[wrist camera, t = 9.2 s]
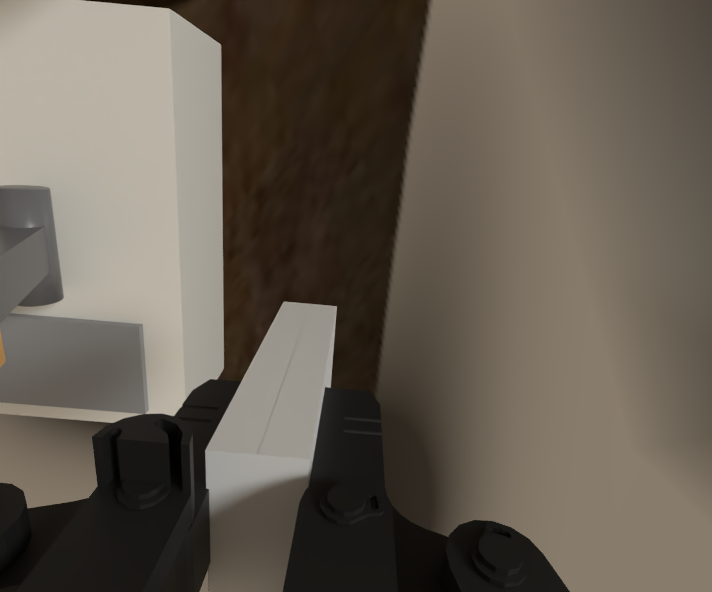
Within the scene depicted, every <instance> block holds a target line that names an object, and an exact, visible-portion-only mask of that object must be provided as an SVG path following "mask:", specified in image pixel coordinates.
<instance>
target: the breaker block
mask: <svg viewBox="0 0 712 592" xmlns="http://www.w3.org/2000/svg"><path fill="white" fill-rule="evenodd" d="M3 185H31V186H43V187H48V188H50V192H51V200H52V208H53V216H54V224H55V231H56V239H57V247H58V255H59V262H60V270H61V278H62V286H63V293H64V298H63V299H62V300H61V301H59V302H56V303H53V304H49V305H44V306H35V307H23V306H16V307H15V308H14V309H13V310H12V311H11V312H10V313H9V314H8V316H7V317H6V318H5V319H4V320H3V321H2V322H1V323H0V332H1V337H2V343H3V348H4V354H5V360H6V361H5V363H4V364H3V365H2V366H1V368H0V414H11V415H23V416H36V417H48V418H60V419H72V420H85V421H97V422H110V423H114V422H117V421H119V420H121V419H123V418H128V417H132V416H137V415H141V414H166V415H171V416H174V415H175V414H176V413H177V411H178V410H179V408H180V407H181V408H182V404H183V403H184V401H185V400H186V399H187V397H188V396H189V394H190V393H191V392H192V390H194V389H195V388H197V387H198V386H200V385H202V384H203V383H205V382H207V381H208V380H210V379H215V380H217V379H218V377H219V375H220V374H221V372H222V371H223V369H224V323H223V212H222V100H221V44H219V43H218V42H216V41H215V40H214V39H212V38H211V37H209V36H208V35H206V34H205V33H204V32H202V31H201V30H199V29H198V28H196V27H195V26H194V25H192V24H191V23H189V22H188V21H187V20H185V19H184V18H182V17H181V16H179V15H178V14H177V13H175V12H174V11H172V10H171V9H169V8H158V7H147V6H137V5H126V4H116V3H105V2H95V1H84V0H0V186H3Z"/></svg>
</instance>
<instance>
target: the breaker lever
mask: <svg viewBox="0 0 712 592" xmlns="http://www.w3.org/2000/svg"><path fill="white" fill-rule="evenodd" d="M63 298H64V293H63V286H62V278H61V270H60V262H59V255H58V247H57V239H56V231H55V224H54V216H53V208H52V200H51V192H50V188H48V187H43V186H31V185H3V186H0V323H1V322H2V321H3V320H4V319H5V318H6V317H7V316H8V314H9V313H10V312H11V311H12V310H13V309H14V308H15V307H16V306H23V307H35V306H44V305H49V304H53V303H56V302H59V301H61V300H62V299H63ZM5 361H6V360H5V354H4V348H3V343H2V337H1V332H0V368H1V366H2V365H3V364H4V363H5Z"/></svg>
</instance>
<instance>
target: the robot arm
mask: <svg viewBox="0 0 712 592" xmlns="http://www.w3.org/2000/svg"><path fill="white" fill-rule="evenodd" d="M336 309H337V306H327V305H316V304H304V303H293V302H283V304H282V306H281V308H280V310H279V312H278V314H277V315H276V317H275V319H274V321H273V323H272V325H271V327H270V329H269V331H268V332H267V334H266V336H265V338H264V340H263V342H262V344H261V346H260V348H259V349H258V351H257V353H256V355H255V357H254V359H253V361H252V363H251V365H250V367H249V368H248V370H247V372H246V374H245V376H244V378H243V380H242V382H239V381H227V380H215V379H210V380H208V381H207V382H205V383H203V384H202V385H200V386H198V387H197V388H195V389H194V390H192V392H191V393H190V394H189V396H188V397H187V399H186V400H185V401H184V403H183V404H182V408H181V407H180V408H179V410H178V411H177V413H176V414H175V415H174V416H171V415H166V414H141V415H137V416H132V417H128V418H123V419H121V420H119V421H117V422H114V423H112V424H110V425H107V426H106V427H104V428H103V429H102V430H100V431H99V432H98V433H97V434H95V435H94V436H93V437H92V440H93V449H94V458H95V467H96V475H97V484H98V487H97V488H96V489H95V491H94V492H93V493H92V494H91V496H90V497H89V498H87V499H82V500H78V501H73V502H68V503H61V504H54V505H49V506H41V507H35V508H28V509H27V504H26V500H25V496H24V492H23V491H22V490H21V489H19V488H18V487H16V486H14V485H13V484H6V483H0V592H199V591H200V588H201V586H202V583H203V580H204V578H205V575H206V572H207V570H208V591H210V592H570V591H569V590H568V589H567V587H566V586H565V584H564V583H563V581H562V580H561V579H560V577H559V576H558V574H557V573H556V572H555V570H554V569H553V567H552V566H551V565H550V563H549V562H548V560H547V559H546V557H545V556H544V555H543V554H542V552H541V551H540V550H539V549H538V548H537V547H536V546H535V545H534V544H533V543H532V542H531V541H530V539H528V538H527V537H525V536H524V535H522V534H520V533H519V532H517V531H516V530H514V529H512V528H511V527H508V526H505V525H502V524H499V523H496V522H493V521H480V520H473V521H470V522H467V523H464V524H461V525H459V526H458V527H457V528H456V529H455V530H454V531H453V532H452V533H451V534H450V535H449V537H447V536H444V535H441V534H438V533H436V532H433V531H430V530H427V529H424V528H423V527H420V526H418V525H416V524H414V523H412V522H410V521H409V520H408V519H406V518H405V517H403V516H402V515H401V514H400V513H399V512H398V511H397V510H396V509H395V508H394V507H393V506H392V504H391V502H390V500H389V499H388V497H387V493H386V489H385V479H384V463H383V445H382V429H381V411H380V404H379V402H378V401H377V400H376V398H375V397H374V396H373V394H372V393H371V392H370V391H363V390H351V389H340V388H330V387H331V374H332V361H333V348H334V335H335V322H336Z"/></svg>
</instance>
